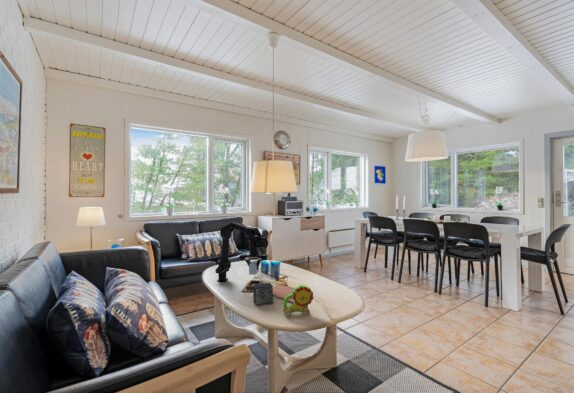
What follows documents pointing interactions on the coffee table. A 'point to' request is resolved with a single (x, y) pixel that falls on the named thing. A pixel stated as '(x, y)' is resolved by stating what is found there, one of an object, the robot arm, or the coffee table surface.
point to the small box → (262, 294)
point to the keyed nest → (250, 284)
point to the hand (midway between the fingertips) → (254, 269)
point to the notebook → (283, 292)
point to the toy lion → (298, 301)
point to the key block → (253, 268)
